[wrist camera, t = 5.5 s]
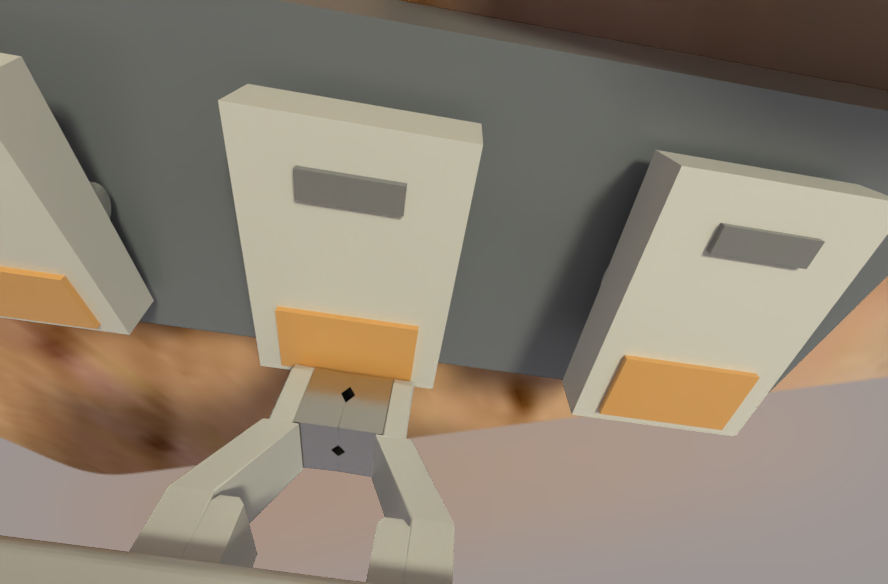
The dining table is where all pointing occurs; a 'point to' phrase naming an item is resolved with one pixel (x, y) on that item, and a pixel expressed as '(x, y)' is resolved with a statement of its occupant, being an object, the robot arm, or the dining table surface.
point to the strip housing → (434, 93)
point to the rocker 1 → (56, 224)
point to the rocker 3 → (717, 290)
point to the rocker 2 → (348, 228)
